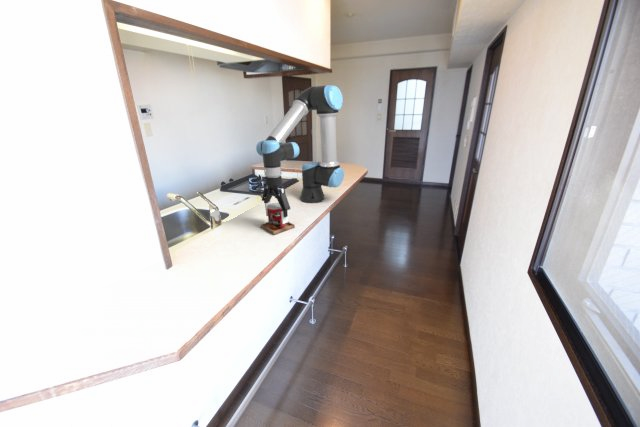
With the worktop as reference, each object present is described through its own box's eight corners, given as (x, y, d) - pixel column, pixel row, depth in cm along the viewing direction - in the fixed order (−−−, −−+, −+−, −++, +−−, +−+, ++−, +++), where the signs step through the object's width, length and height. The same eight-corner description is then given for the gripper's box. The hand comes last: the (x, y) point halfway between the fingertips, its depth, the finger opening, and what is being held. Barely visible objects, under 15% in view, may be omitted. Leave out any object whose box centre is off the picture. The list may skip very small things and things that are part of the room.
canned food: (265, 228, 131) (263, 206, 127) (275, 222, 137) (274, 201, 134) (278, 231, 128) (277, 209, 124) (288, 224, 134) (287, 203, 130)
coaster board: (280, 220, 141) (280, 218, 140) (294, 227, 132) (294, 224, 132) (260, 227, 133) (259, 224, 133) (273, 235, 125) (273, 232, 124)
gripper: (251, 172, 130) (256, 214, 137) (282, 182, 112) (285, 229, 120) (265, 170, 134) (269, 210, 142) (296, 179, 117) (298, 224, 125)
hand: (276, 219), depth 131 cm, fingers open, 13 cm apart
